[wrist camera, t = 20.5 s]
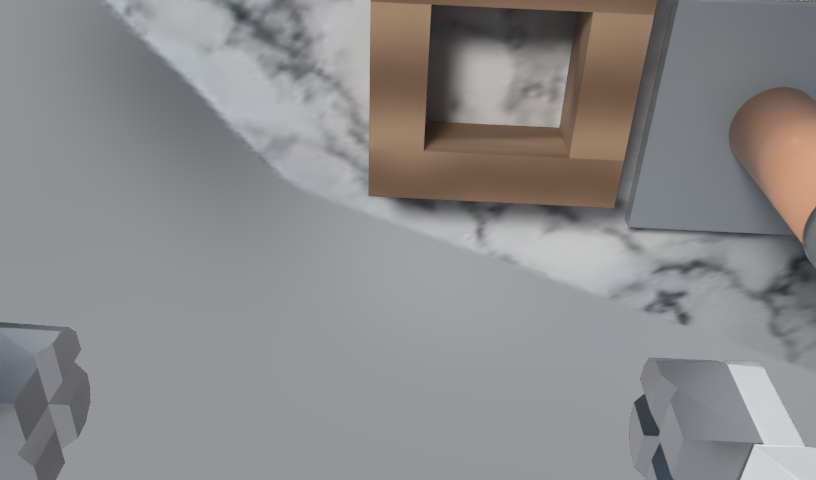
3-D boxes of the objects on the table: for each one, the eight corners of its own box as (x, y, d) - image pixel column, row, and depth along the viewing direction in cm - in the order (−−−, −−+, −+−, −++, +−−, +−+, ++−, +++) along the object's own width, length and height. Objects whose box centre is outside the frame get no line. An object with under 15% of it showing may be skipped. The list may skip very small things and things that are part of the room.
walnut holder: (377, -79, 40) (371, -63, 37) (648, -66, 40) (667, -49, 36) (373, 164, 47) (368, 196, 44) (601, 175, 47) (614, 208, 44)
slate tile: (674, -5, 41) (678, 0, 41) (936, 7, 41) (946, 12, 40) (624, 218, 49) (628, 227, 48) (846, 229, 49) (853, 238, 48)
